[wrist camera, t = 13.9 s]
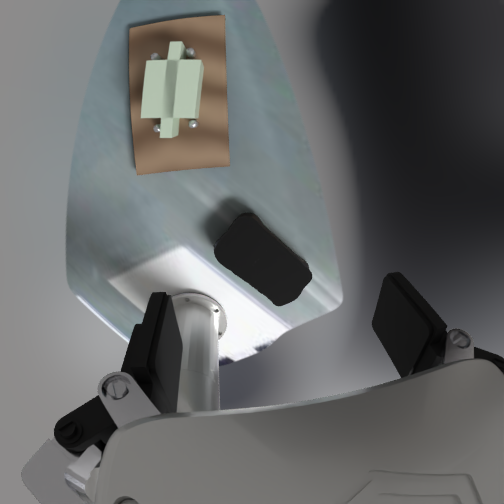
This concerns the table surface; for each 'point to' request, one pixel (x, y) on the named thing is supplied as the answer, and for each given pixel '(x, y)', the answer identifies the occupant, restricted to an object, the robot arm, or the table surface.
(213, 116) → the pin plate
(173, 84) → the green grooved block
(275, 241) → the black sponge
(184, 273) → the table surface
